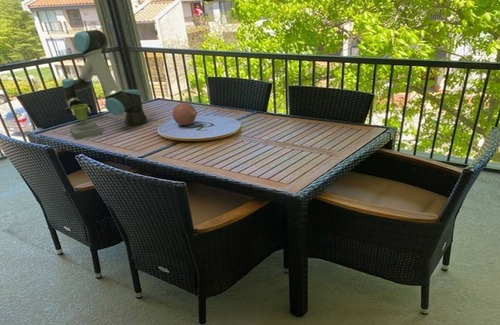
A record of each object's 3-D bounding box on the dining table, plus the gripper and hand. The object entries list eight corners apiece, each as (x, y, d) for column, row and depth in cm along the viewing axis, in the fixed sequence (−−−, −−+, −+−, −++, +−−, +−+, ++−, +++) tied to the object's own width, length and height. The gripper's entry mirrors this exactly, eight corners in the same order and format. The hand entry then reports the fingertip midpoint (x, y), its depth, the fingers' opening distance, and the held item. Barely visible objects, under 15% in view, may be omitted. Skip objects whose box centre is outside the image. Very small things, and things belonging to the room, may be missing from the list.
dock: (96, 128, 238) (95, 123, 236) (101, 134, 227) (100, 128, 226) (71, 134, 230) (69, 128, 229) (75, 139, 220) (73, 133, 218)
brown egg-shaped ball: (187, 131, 225) (185, 108, 218) (169, 126, 237) (166, 103, 231) (206, 125, 235) (204, 103, 228) (187, 120, 247) (185, 98, 241)
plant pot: (84, 122, 220) (81, 108, 216) (71, 121, 222) (68, 108, 218) (93, 117, 228) (90, 104, 224) (80, 117, 230) (77, 104, 226)
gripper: (93, 107, 243) (100, 114, 226) (59, 113, 232) (64, 121, 215) (90, 96, 240) (98, 103, 222) (56, 101, 229) (61, 109, 212)
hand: (81, 112), depth 219 cm, fingers closed on plant pot, 8 cm apart
